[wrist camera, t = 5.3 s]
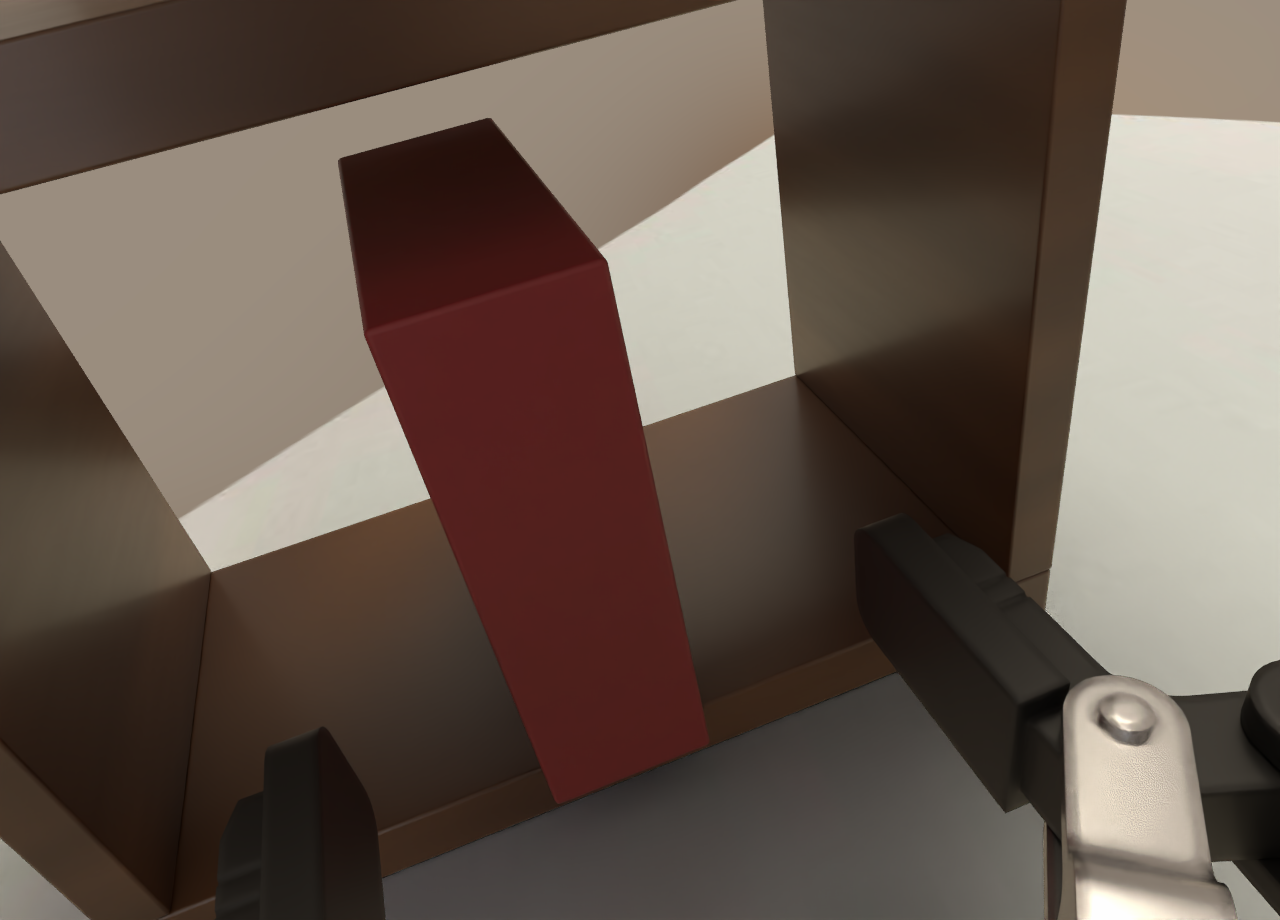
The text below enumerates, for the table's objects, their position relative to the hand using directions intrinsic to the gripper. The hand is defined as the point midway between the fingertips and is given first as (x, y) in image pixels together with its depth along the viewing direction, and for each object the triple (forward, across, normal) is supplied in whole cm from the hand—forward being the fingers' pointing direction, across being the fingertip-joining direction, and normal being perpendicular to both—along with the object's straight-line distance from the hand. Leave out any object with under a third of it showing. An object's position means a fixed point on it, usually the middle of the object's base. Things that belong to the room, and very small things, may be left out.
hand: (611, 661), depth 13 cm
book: (+7, 0, +6) cm, 9 cm away
